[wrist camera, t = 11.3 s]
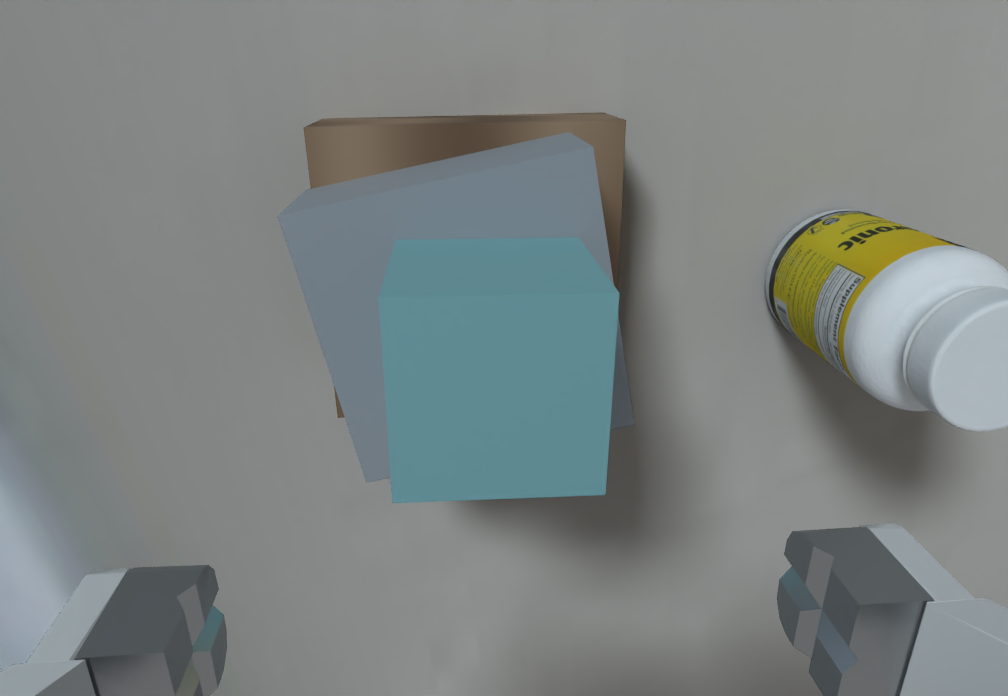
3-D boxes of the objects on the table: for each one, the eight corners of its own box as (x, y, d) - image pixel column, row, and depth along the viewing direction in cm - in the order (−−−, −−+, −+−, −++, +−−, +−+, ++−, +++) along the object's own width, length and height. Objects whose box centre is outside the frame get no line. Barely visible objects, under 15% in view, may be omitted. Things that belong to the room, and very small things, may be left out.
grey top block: (378, 421, 26) (366, 482, 22) (305, 190, 22) (277, 216, 19) (607, 371, 25) (634, 424, 22) (569, 131, 22) (593, 146, 18)
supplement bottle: (912, 217, 28) (1137, 292, 19) (863, 343, 30) (1045, 467, 21) (784, 194, 27) (954, 261, 18) (743, 326, 29) (877, 446, 20)
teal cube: (404, 405, 21) (392, 503, 16) (395, 239, 19) (378, 297, 14) (571, 400, 21) (605, 495, 17) (578, 237, 19) (619, 293, 15)
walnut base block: (351, 372, 29) (337, 417, 25) (324, 117, 25) (303, 127, 22) (591, 361, 30) (612, 404, 26) (600, 111, 26) (625, 120, 22)
